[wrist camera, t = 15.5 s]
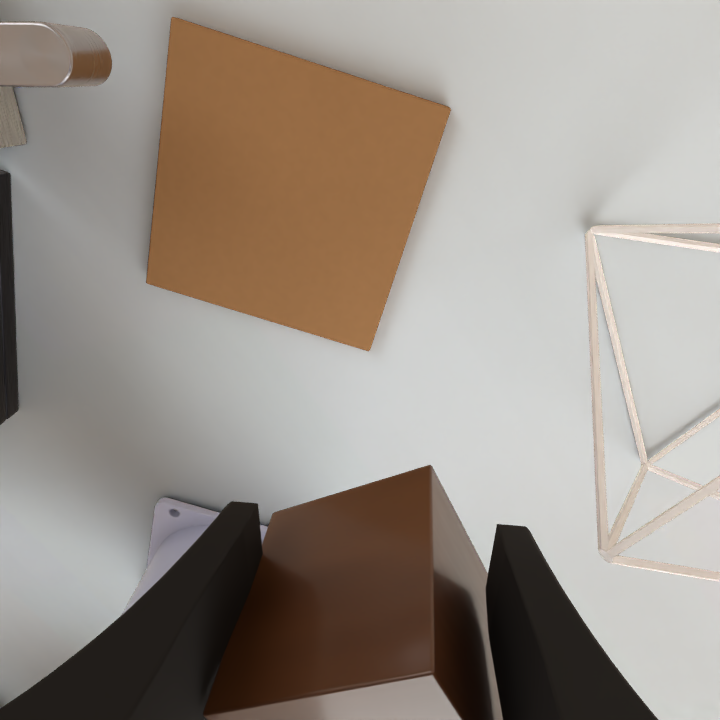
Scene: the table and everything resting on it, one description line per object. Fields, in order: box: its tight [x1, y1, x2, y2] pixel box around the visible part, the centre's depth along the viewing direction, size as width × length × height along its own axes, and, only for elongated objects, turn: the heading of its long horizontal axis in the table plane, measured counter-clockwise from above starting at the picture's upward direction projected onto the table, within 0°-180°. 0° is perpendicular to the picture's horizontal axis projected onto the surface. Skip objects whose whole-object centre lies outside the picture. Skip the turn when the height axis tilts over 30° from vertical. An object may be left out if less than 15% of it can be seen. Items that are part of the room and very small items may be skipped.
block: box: [203, 465, 503, 720], centre depth 12 cm, size 4×4×5 cm
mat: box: [146, 17, 451, 351], centre depth 19 cm, size 9×9×1 cm
